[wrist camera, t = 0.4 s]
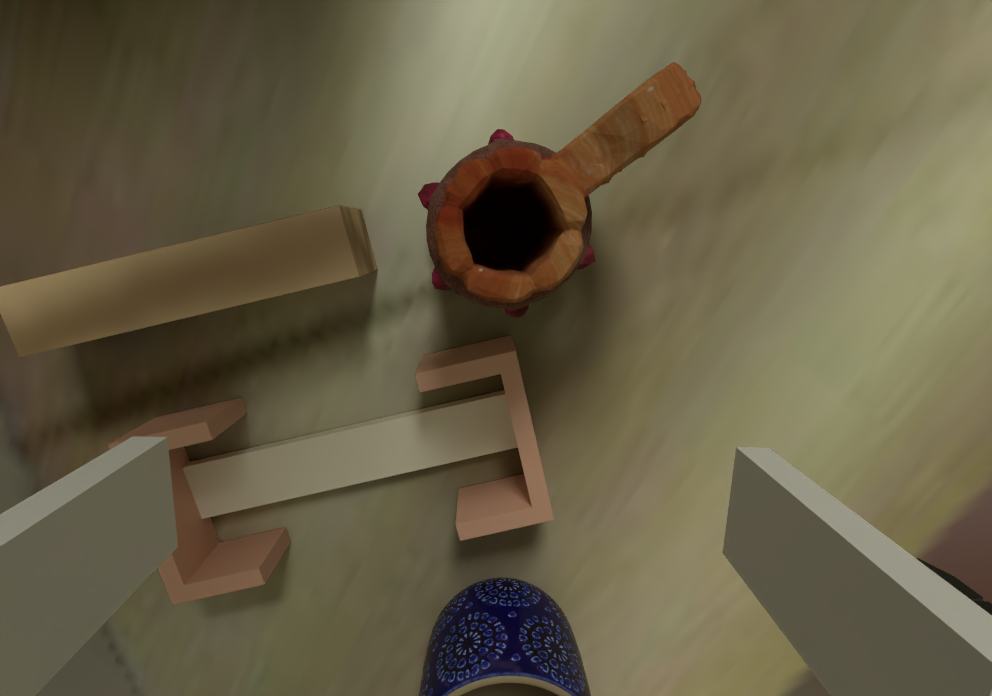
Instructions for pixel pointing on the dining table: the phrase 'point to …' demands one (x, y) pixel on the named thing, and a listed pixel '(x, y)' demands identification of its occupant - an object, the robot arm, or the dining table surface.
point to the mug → (540, 199)
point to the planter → (503, 645)
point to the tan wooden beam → (187, 279)
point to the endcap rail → (346, 468)
